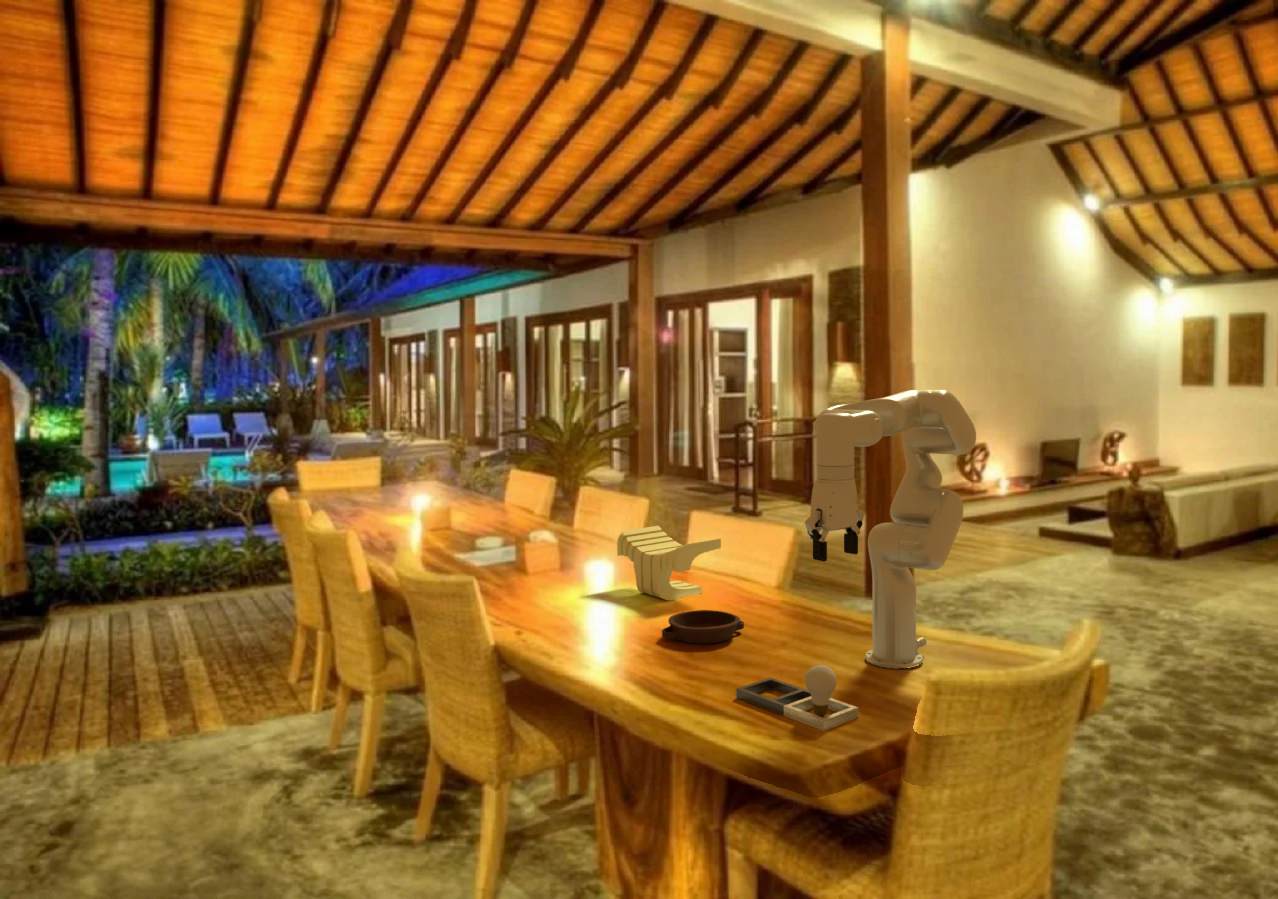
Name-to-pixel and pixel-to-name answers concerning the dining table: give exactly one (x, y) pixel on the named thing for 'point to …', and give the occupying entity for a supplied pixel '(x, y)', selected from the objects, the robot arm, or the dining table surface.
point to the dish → (702, 626)
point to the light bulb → (820, 687)
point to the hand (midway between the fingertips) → (835, 556)
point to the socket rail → (796, 704)
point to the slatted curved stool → (661, 560)
